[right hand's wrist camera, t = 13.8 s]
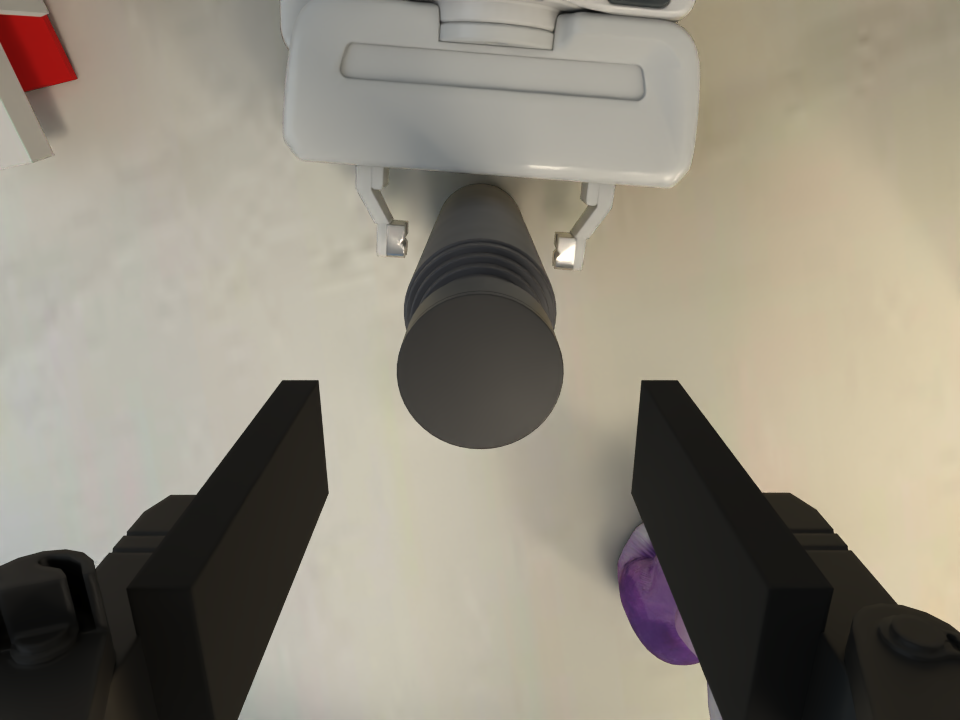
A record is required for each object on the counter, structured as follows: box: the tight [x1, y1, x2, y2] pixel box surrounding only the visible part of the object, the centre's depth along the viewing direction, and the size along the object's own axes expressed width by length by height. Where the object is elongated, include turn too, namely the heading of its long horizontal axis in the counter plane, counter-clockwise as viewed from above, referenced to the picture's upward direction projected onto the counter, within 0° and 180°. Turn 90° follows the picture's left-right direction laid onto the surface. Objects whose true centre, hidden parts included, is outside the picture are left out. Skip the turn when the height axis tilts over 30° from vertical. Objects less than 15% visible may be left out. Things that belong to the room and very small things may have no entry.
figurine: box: [617, 523, 722, 720], centre depth 43 cm, size 9×10×15 cm
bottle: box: [404, 184, 556, 330], centre depth 30 cm, size 5×5×25 cm
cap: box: [397, 277, 564, 449], centre depth 19 cm, size 4×4×2 cm
